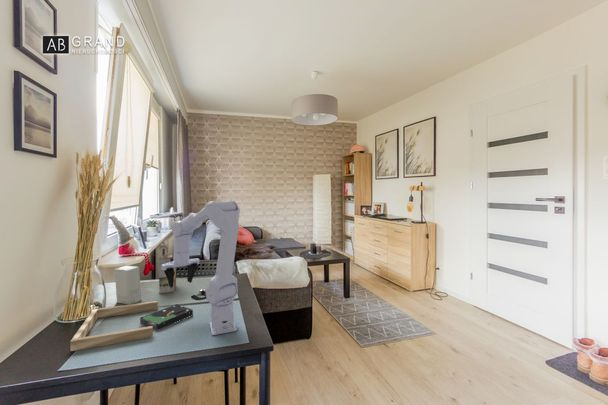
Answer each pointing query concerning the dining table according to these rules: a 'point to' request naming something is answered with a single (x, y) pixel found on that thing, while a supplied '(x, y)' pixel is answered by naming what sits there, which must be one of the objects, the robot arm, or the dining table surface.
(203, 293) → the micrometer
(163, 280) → the coffee box
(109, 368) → the dining table surface
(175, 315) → the disk drive
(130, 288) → the skincare box
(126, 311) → the bay
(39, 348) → the dining table surface
